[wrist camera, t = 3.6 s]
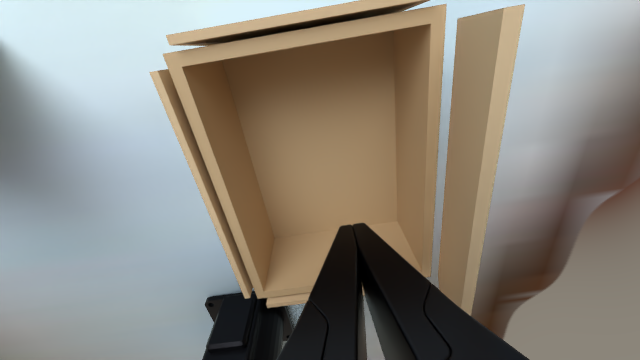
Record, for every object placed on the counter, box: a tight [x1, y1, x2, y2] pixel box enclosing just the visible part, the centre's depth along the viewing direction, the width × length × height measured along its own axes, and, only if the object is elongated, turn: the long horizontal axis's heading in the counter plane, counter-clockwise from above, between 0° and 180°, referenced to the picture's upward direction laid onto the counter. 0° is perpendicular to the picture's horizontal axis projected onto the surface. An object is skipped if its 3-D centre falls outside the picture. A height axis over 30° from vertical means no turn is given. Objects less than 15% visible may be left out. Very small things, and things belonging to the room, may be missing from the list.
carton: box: [150, 0, 446, 308], centre depth 14 cm, size 14×11×5 cm
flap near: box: [438, 4, 525, 316], centre depth 9 cm, size 12×5×1 cm
